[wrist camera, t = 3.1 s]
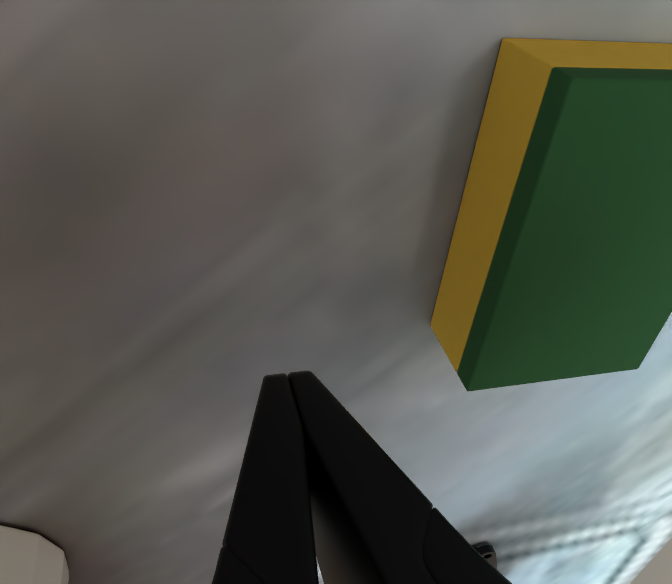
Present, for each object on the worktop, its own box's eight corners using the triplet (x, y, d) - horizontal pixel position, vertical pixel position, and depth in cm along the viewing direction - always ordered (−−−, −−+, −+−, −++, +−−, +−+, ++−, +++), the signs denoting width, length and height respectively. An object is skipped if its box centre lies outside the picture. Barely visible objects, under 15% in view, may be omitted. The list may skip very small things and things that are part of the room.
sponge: (584, 309, 20) (638, 369, 18) (429, 325, 19) (466, 392, 16) (708, 44, 15) (808, 81, 12) (501, 37, 13) (573, 78, 11)
